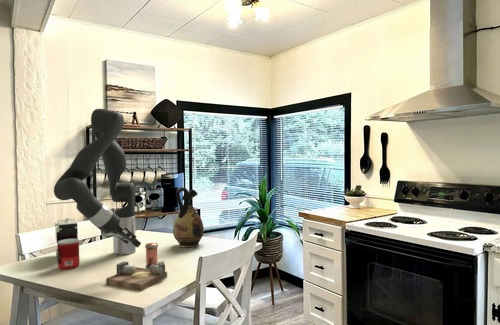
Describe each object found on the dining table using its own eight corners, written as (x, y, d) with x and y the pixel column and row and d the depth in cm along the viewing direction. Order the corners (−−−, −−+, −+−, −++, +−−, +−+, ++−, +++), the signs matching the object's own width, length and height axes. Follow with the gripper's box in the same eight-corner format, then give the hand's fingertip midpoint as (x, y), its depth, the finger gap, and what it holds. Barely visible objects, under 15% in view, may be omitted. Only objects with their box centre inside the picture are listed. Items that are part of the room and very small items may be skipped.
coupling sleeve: (142, 269, 139) (142, 244, 139) (151, 266, 144) (150, 242, 144) (152, 271, 137) (152, 246, 137) (160, 267, 142) (160, 243, 142)
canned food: (83, 264, 147) (83, 239, 147) (68, 270, 139) (67, 243, 139) (69, 263, 149) (69, 237, 149) (53, 269, 142) (53, 242, 141)
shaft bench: (106, 284, 124) (105, 268, 124) (134, 271, 137) (134, 257, 137) (143, 290, 117) (143, 274, 117) (169, 277, 130) (169, 262, 130)
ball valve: (54, 253, 164) (54, 216, 164) (75, 251, 169) (74, 214, 169) (56, 263, 149) (55, 222, 149) (78, 260, 153) (77, 220, 153)
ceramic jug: (191, 240, 188) (191, 185, 188) (210, 245, 177) (209, 186, 177) (164, 246, 176) (163, 187, 175) (182, 251, 165) (181, 189, 165)
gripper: (119, 212, 123) (149, 238, 132) (102, 208, 133) (131, 233, 142) (105, 229, 120) (136, 255, 128) (88, 224, 130) (118, 248, 138)
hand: (133, 243), depth 135 cm, fingers open, 8 cm apart
